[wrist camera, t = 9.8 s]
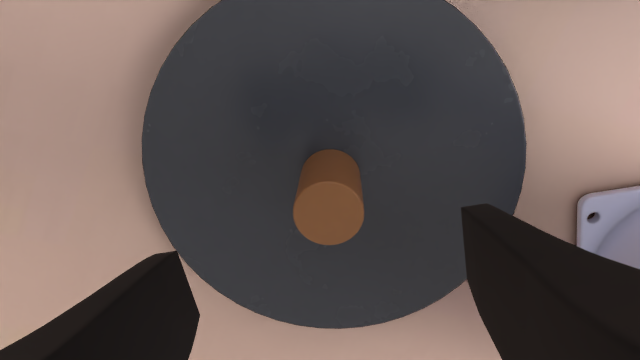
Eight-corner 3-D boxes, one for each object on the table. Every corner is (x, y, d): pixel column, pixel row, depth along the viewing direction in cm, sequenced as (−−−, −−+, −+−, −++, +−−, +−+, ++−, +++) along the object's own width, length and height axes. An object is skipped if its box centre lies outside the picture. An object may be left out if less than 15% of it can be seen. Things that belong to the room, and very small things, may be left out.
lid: (522, 290, 21) (567, 363, 17) (210, 332, 23) (181, 407, 19) (508, -76, 15) (571, -104, 11) (96, 16, 17) (18, 22, 13)
